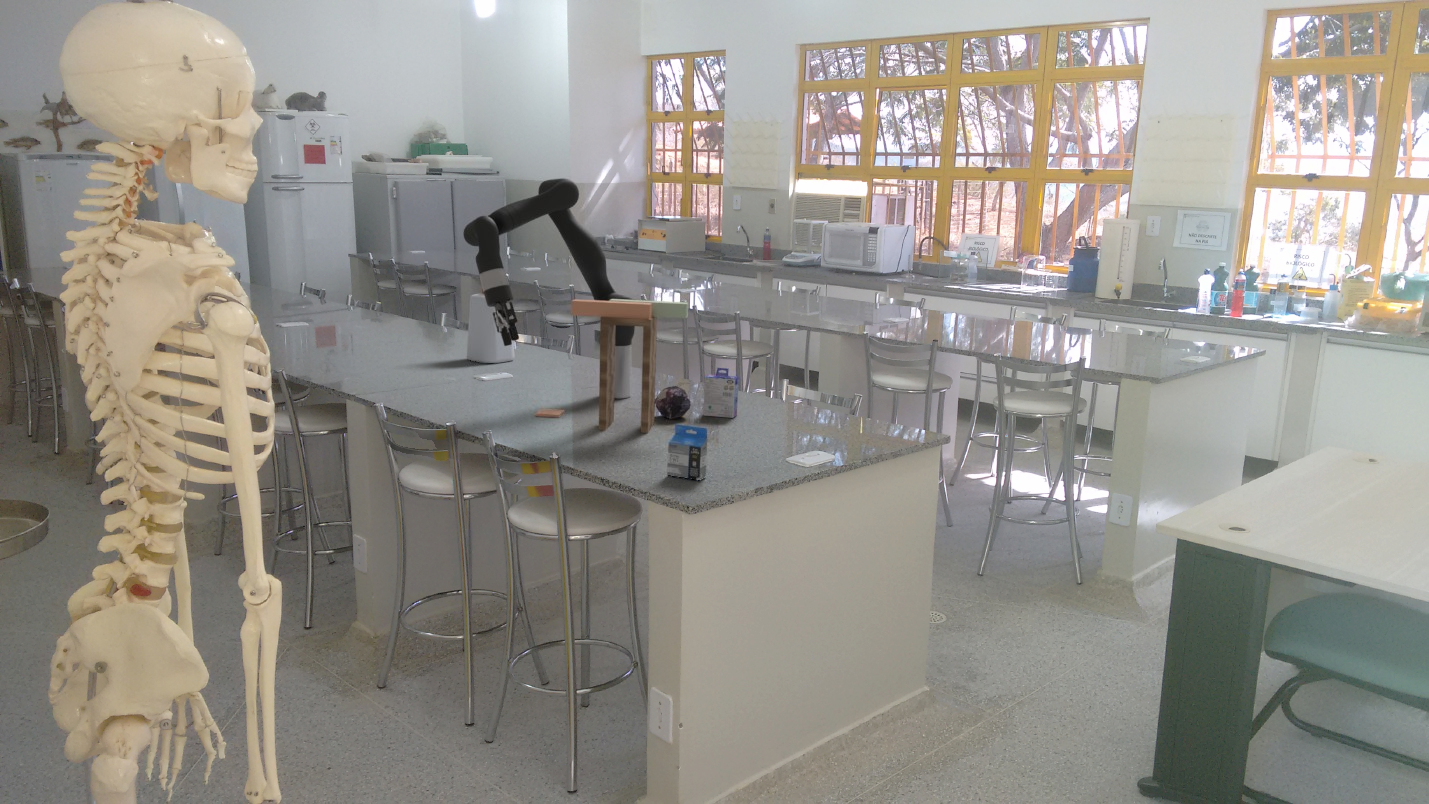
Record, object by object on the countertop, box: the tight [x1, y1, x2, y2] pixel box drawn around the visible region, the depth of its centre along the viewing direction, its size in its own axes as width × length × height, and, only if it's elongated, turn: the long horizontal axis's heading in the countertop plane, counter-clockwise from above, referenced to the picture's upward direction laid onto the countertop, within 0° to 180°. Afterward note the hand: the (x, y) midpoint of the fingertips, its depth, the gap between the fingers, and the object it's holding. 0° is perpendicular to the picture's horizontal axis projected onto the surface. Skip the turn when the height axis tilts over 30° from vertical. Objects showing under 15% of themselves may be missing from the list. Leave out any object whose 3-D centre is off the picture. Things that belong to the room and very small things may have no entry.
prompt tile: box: [535, 408, 565, 418], centre depth 309 cm, size 7×7×1 cm
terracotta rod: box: [570, 298, 652, 319], centre depth 288 cm, size 4×22×4 cm, turn 85°
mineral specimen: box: [655, 385, 692, 420], centre depth 311 cm, size 10×10×10 cm
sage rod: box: [609, 299, 689, 319], centre depth 293 cm, size 4×22×4 cm, turn 85°
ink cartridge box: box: [702, 367, 739, 419], centre depth 315 cm, size 10×6×14 cm, turn 78°
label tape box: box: [666, 423, 708, 481], centre depth 248 cm, size 9×4×12 cm, turn 66°
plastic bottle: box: [466, 288, 515, 364], centre depth 394 cm, size 15×15×28 cm
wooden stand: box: [598, 317, 658, 434], centre depth 294 cm, size 12×14×32 cm
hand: (511, 342), depth 292 cm, fingers open, 8 cm apart
